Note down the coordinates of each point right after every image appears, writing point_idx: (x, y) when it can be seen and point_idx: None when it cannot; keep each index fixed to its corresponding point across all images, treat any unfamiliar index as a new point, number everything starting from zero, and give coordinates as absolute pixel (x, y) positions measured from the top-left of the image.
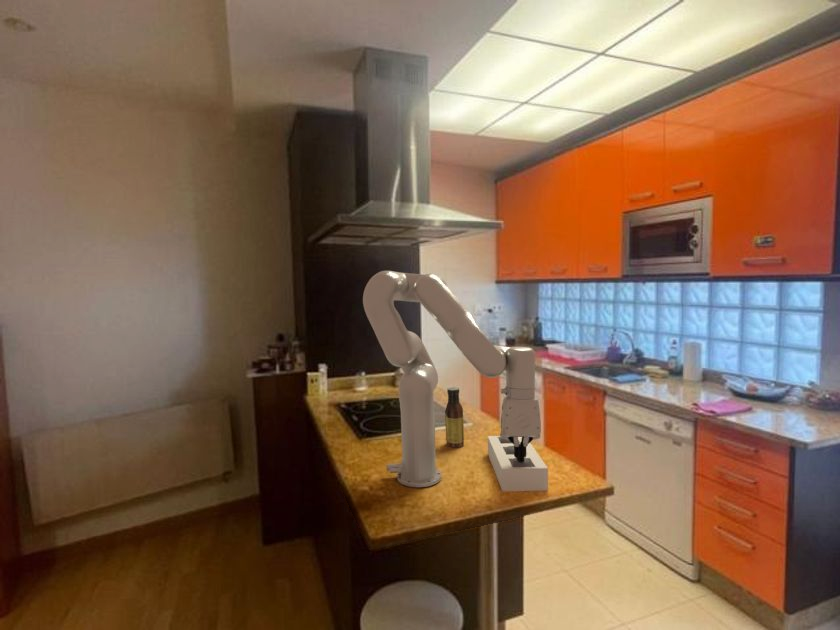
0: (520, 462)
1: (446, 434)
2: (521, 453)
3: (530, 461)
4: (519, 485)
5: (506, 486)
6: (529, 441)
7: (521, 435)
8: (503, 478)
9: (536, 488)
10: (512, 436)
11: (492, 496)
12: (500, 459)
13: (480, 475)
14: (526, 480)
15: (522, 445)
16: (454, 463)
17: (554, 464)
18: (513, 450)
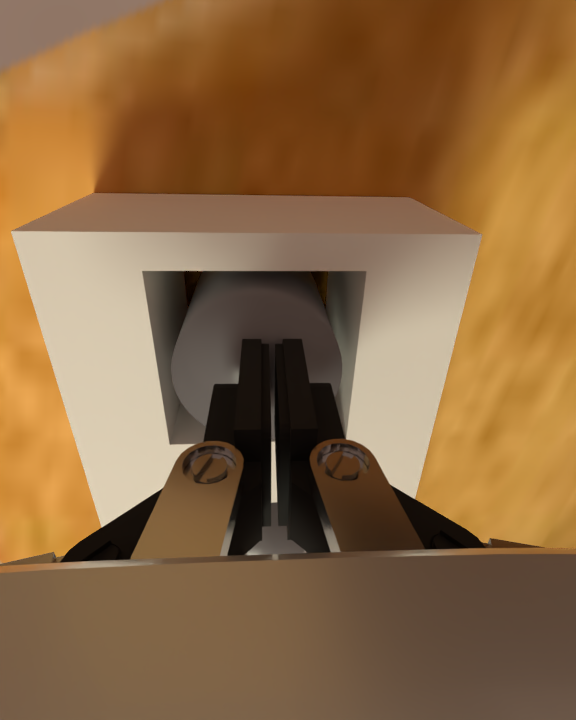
0: (276, 341)
1: None
2: (269, 387)
3: (176, 359)
4: (298, 202)
5: (392, 201)
6: (136, 518)
7: (316, 573)
8: (434, 214)
9: (173, 196)
10: (522, 550)
11: (502, 120)
12: (414, 425)
13: (459, 404)
14: (244, 209)
15: (251, 469)
16: (529, 516)
17: (34, 511)
18: (276, 542)
